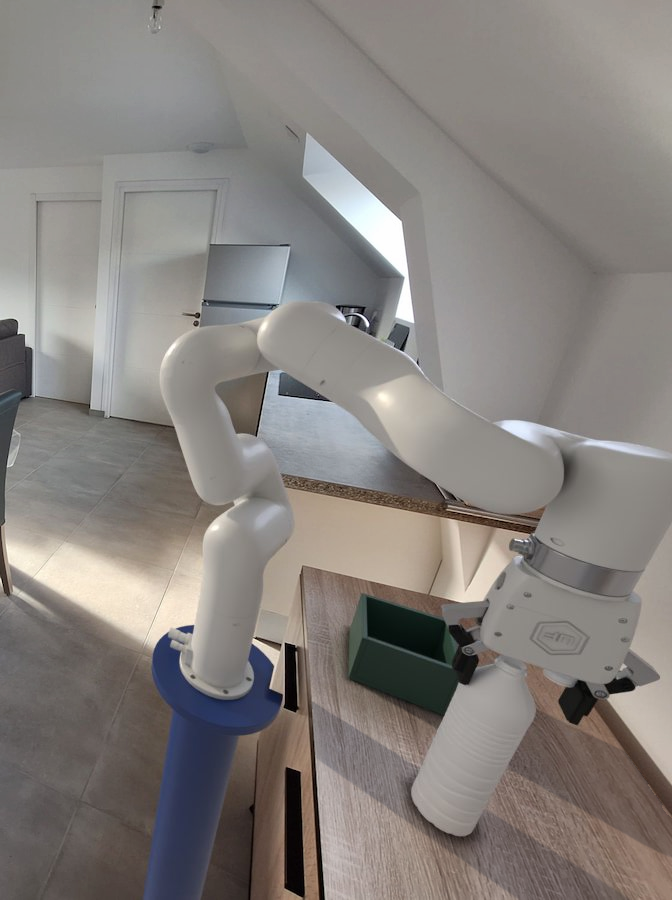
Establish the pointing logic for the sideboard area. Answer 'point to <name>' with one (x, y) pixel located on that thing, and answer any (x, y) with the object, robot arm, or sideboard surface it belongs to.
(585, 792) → the sideboard surface
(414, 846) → the sideboard surface
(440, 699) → the tote
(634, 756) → the sideboard surface
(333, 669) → the sideboard surface
